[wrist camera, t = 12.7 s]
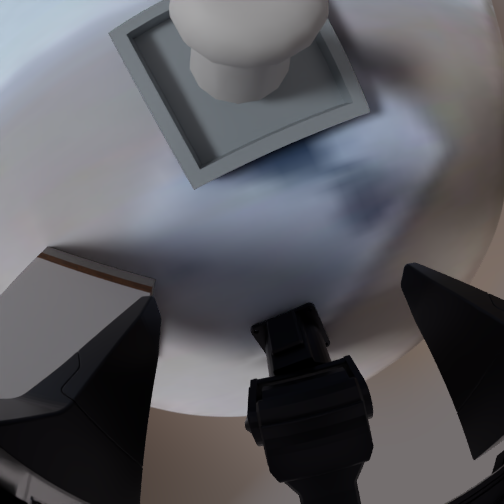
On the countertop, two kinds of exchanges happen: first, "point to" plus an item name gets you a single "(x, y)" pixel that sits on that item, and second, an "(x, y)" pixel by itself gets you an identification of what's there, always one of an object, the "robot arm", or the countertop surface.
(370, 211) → the countertop surface
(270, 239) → the countertop surface
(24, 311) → the display case
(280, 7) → the salt shaker
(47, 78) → the countertop surface
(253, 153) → the tray
